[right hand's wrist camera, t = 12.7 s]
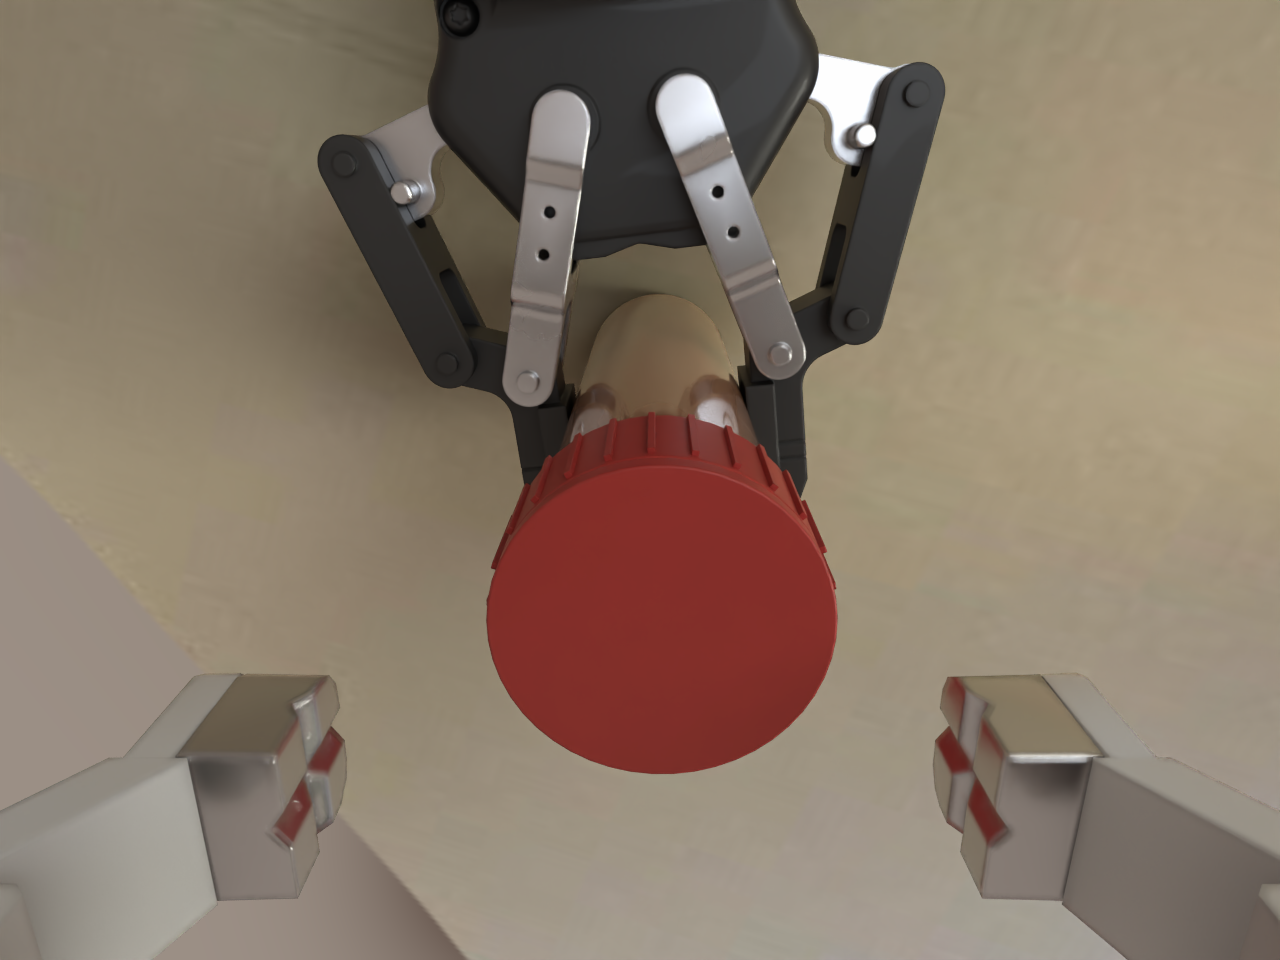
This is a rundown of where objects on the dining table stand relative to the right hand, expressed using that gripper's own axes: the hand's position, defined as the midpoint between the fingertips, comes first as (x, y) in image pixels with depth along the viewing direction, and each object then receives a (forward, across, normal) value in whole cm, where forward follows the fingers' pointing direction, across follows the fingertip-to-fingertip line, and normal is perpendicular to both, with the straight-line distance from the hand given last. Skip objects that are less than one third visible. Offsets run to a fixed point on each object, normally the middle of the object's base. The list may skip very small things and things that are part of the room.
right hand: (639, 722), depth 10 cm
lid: (+2, 0, 0) cm, 2 cm away
